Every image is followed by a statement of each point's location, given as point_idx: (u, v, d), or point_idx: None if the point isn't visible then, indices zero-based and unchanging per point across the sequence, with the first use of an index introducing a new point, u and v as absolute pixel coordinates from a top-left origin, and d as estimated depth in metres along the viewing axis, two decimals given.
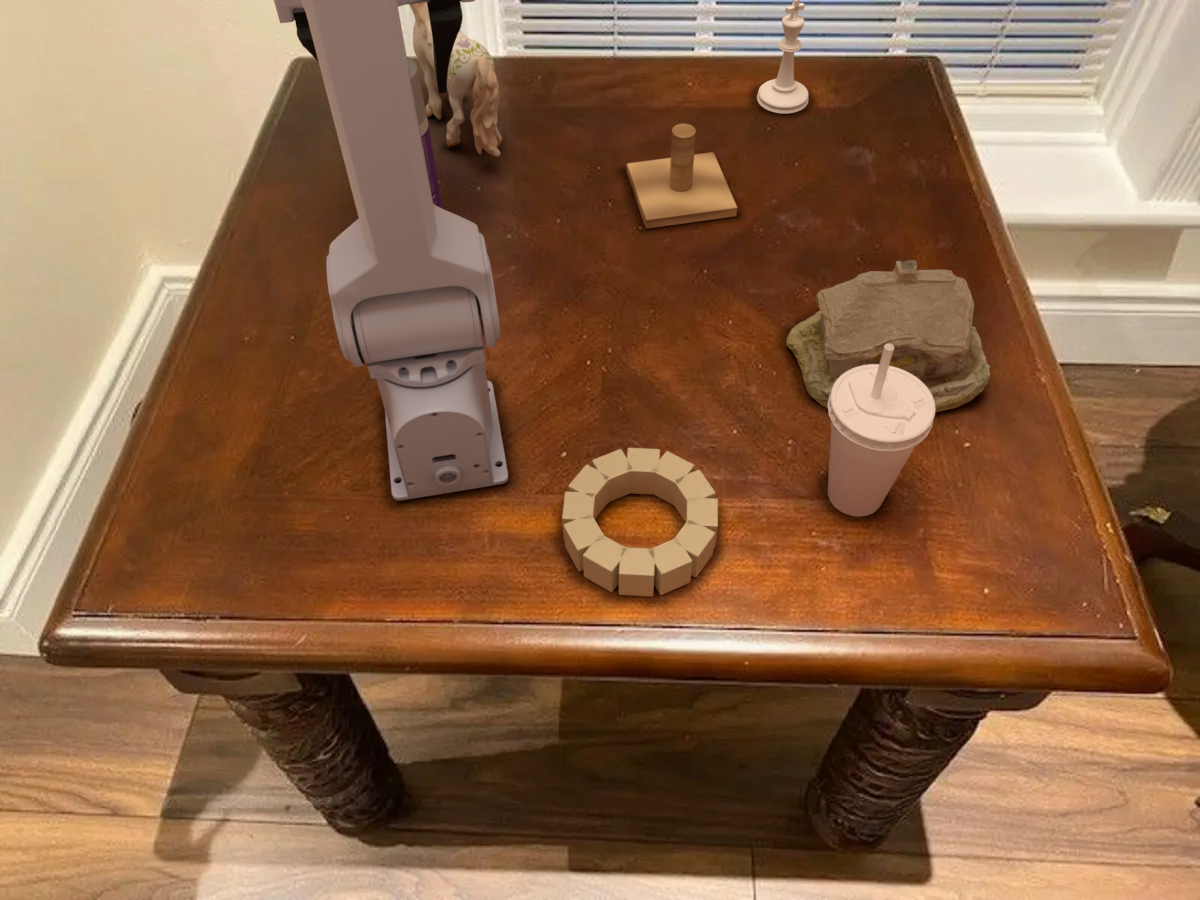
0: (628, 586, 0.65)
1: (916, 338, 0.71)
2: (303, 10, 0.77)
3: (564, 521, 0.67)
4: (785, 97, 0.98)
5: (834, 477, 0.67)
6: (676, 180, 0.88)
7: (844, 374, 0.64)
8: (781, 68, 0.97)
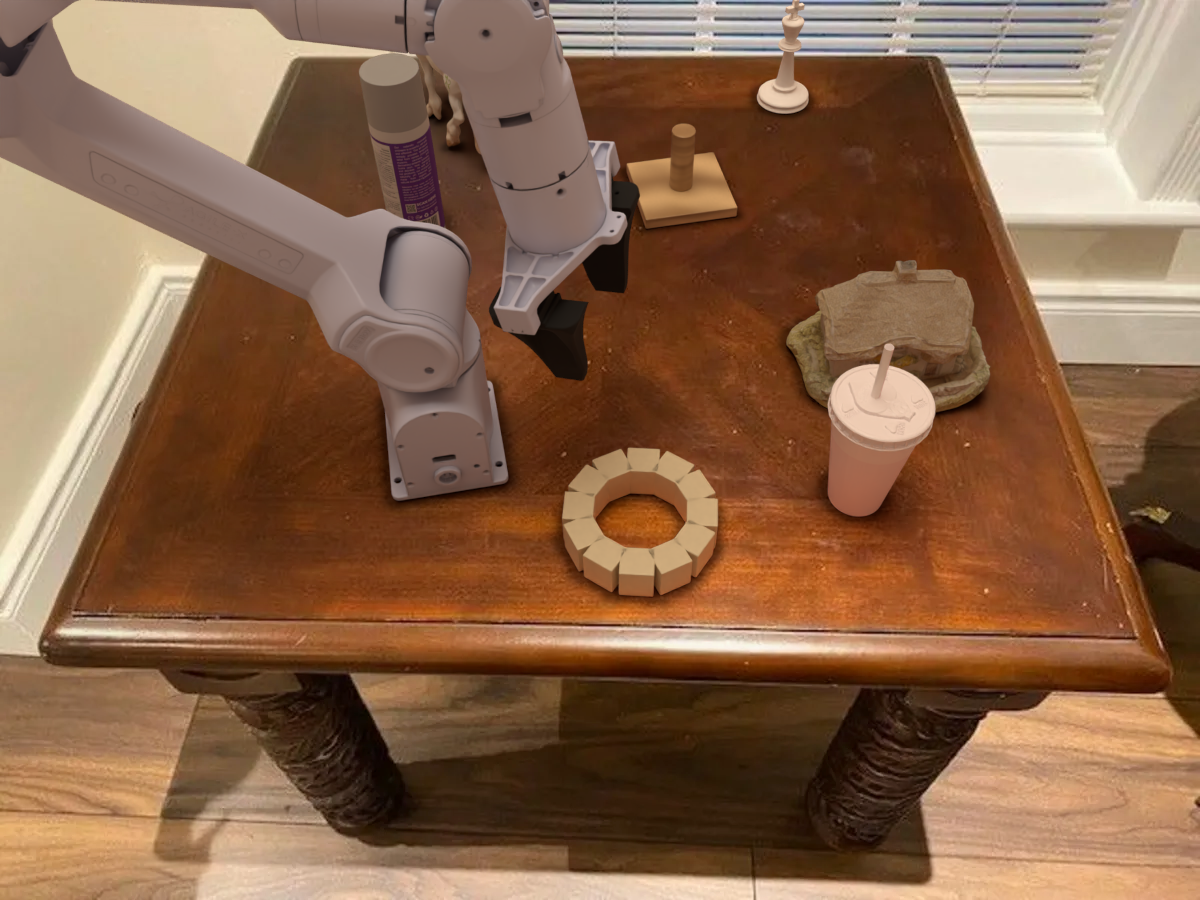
0: (628, 586, 0.65)
1: (916, 338, 0.71)
2: None
3: (564, 521, 0.67)
4: (785, 97, 0.98)
5: (834, 477, 0.67)
6: (676, 180, 0.88)
7: (844, 374, 0.64)
8: (781, 68, 0.97)
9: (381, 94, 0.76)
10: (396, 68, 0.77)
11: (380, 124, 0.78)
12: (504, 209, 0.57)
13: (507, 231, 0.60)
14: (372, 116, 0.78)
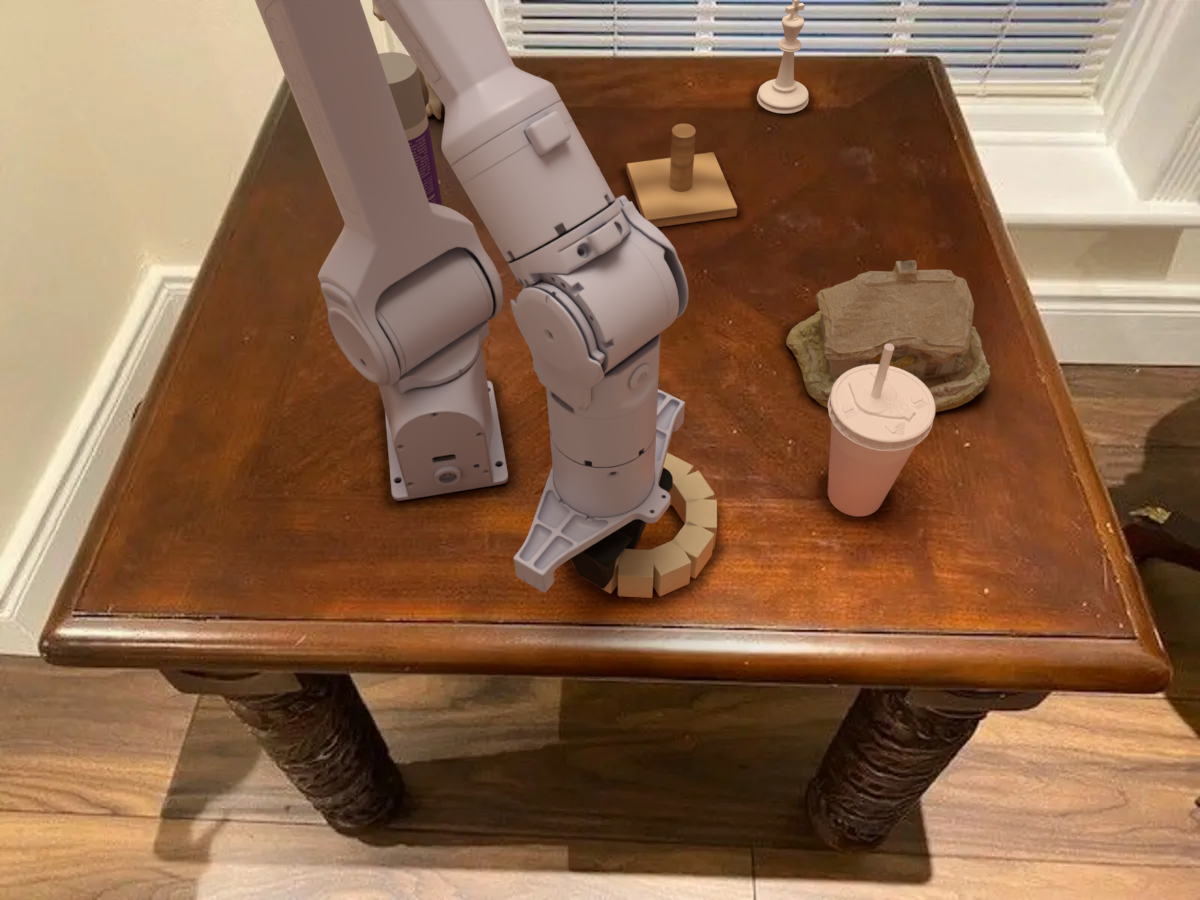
0: (627, 588, 0.65)
1: (916, 338, 0.71)
2: None
3: None
4: (785, 97, 0.98)
5: (834, 477, 0.67)
6: (676, 180, 0.88)
7: (844, 374, 0.64)
8: (781, 68, 0.97)
9: None
10: (394, 67, 0.77)
11: None
12: (554, 461, 0.56)
13: (552, 469, 0.59)
14: None
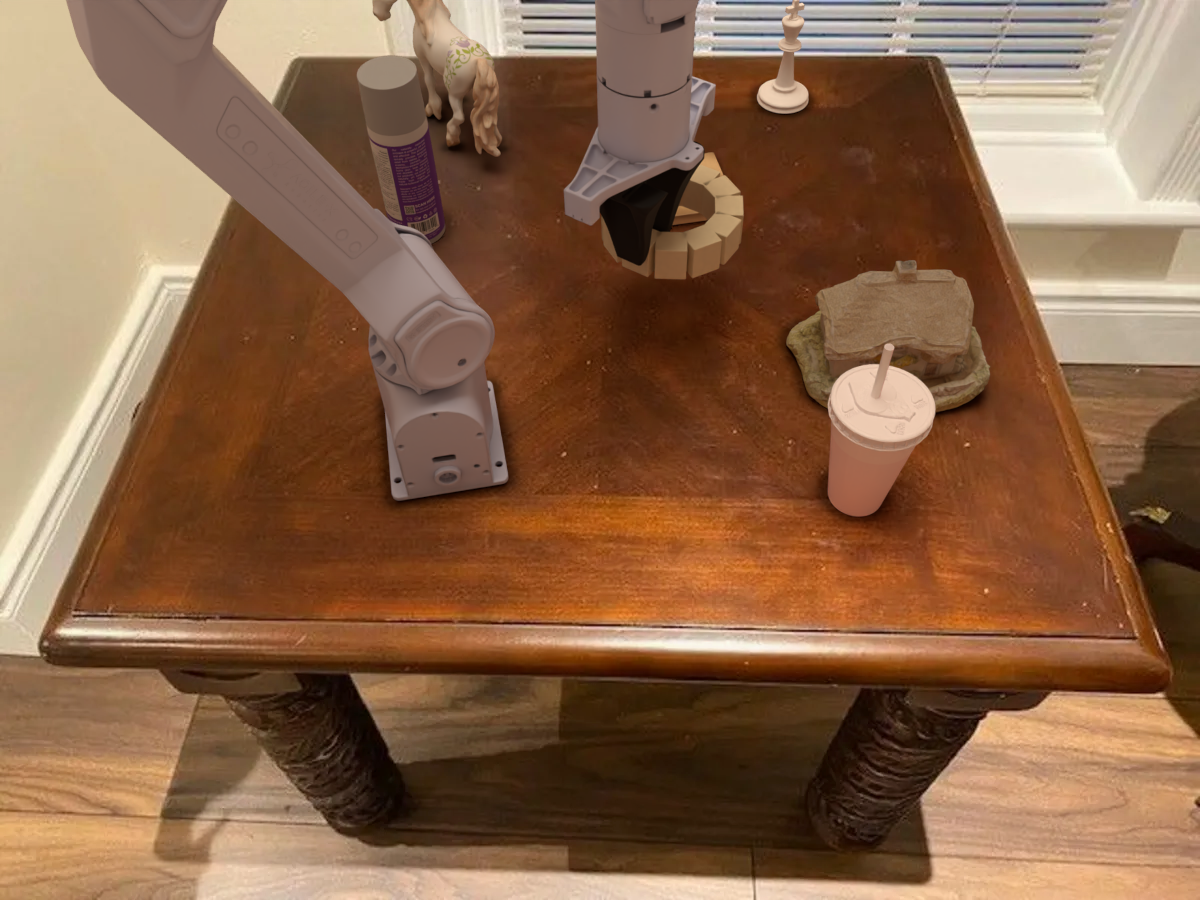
0: (663, 267, 0.71)
1: (916, 338, 0.71)
2: None
3: None
4: (785, 97, 0.98)
5: (834, 477, 0.67)
6: None
7: (844, 374, 0.64)
8: (781, 68, 0.97)
9: (378, 97, 0.76)
10: (393, 71, 0.76)
11: (377, 127, 0.78)
12: (600, 107, 0.62)
13: (596, 130, 0.65)
14: (370, 119, 0.78)
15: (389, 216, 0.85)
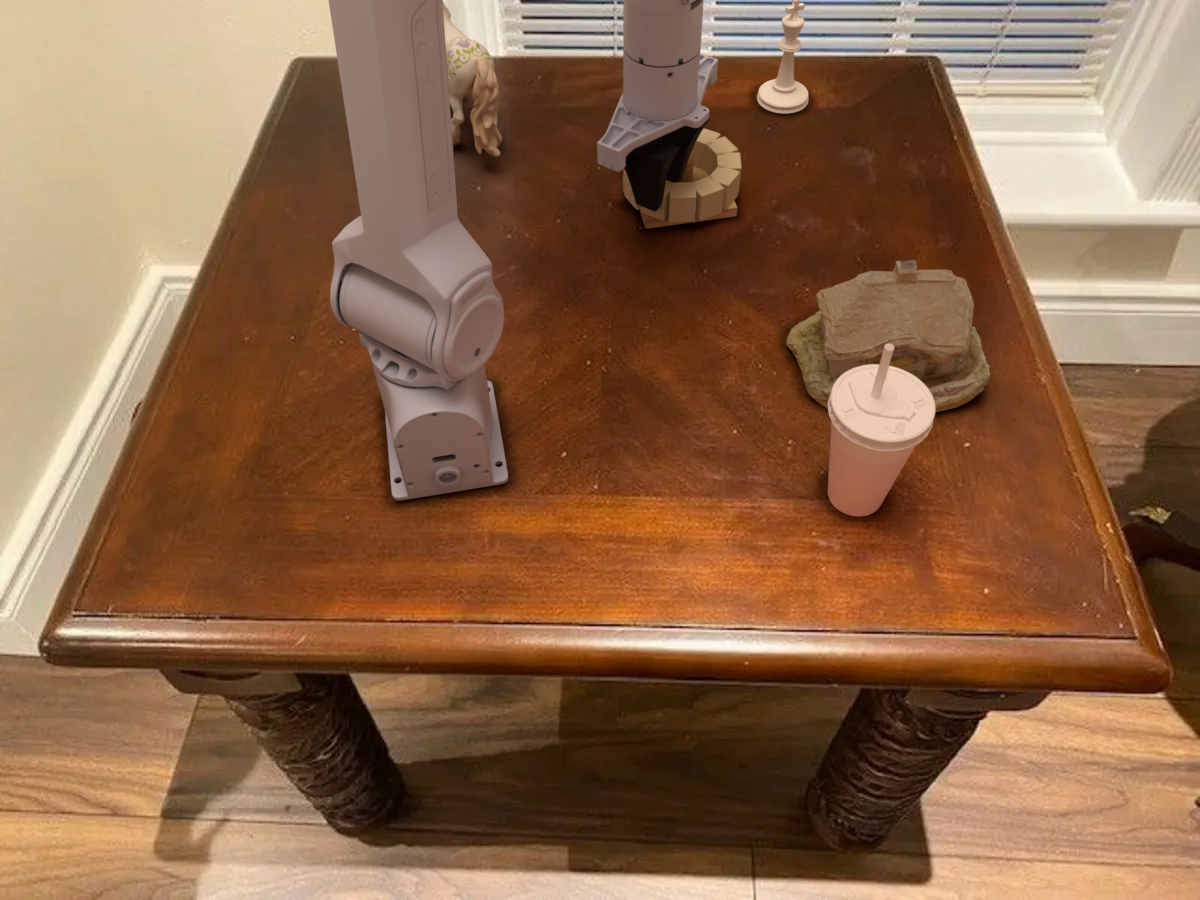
0: (676, 211, 0.86)
1: (916, 338, 0.71)
2: None
3: (624, 170, 0.88)
4: (785, 97, 0.98)
5: (834, 477, 0.67)
6: None
7: (844, 374, 0.64)
8: (781, 68, 0.97)
9: None
10: None
11: None
12: (626, 76, 0.77)
13: (621, 96, 0.80)
14: None
15: None
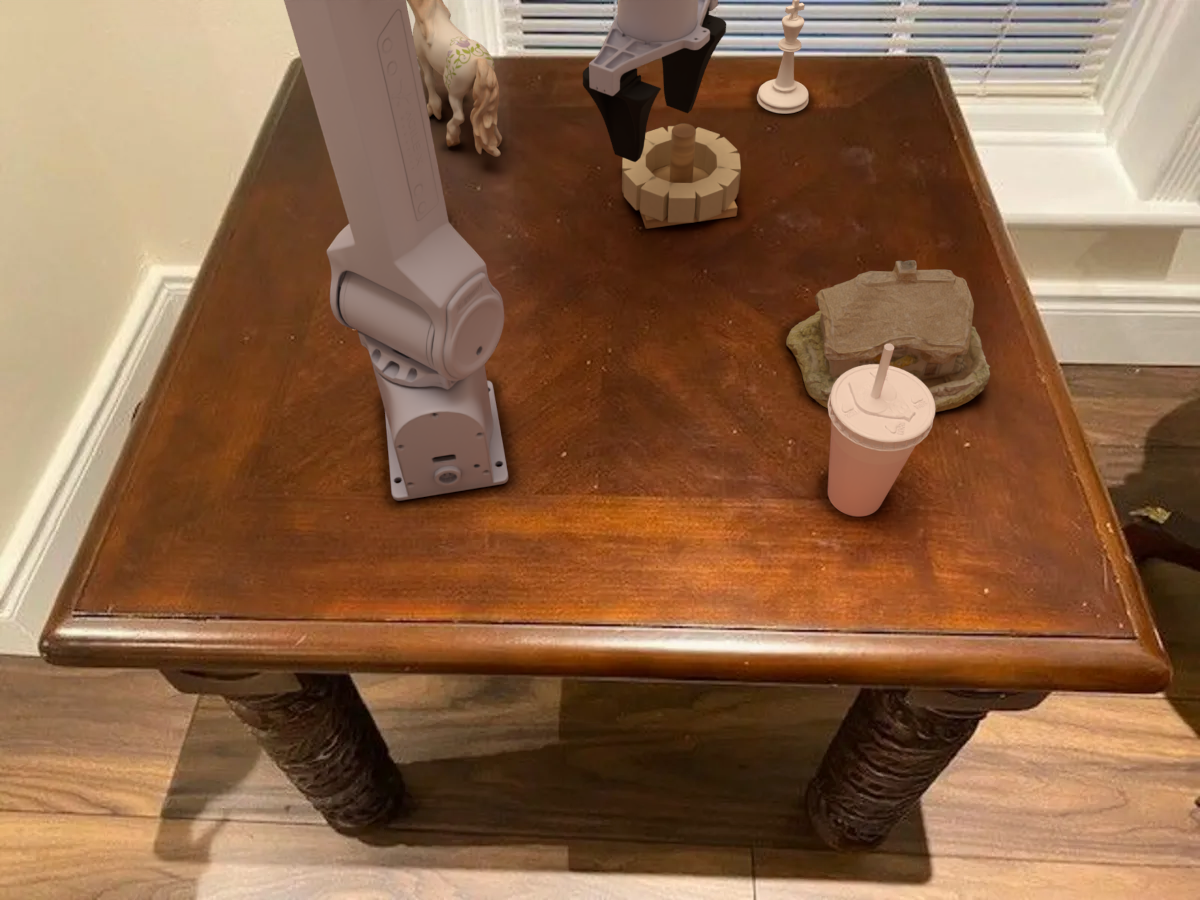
0: (675, 212, 0.86)
1: (916, 338, 0.71)
2: None
3: (623, 171, 0.88)
4: (785, 97, 0.98)
5: (834, 477, 0.67)
6: (676, 180, 0.88)
7: (844, 374, 0.64)
8: (781, 68, 0.97)
9: None
10: None
11: None
12: None
13: (616, 18, 0.74)
14: None
15: None
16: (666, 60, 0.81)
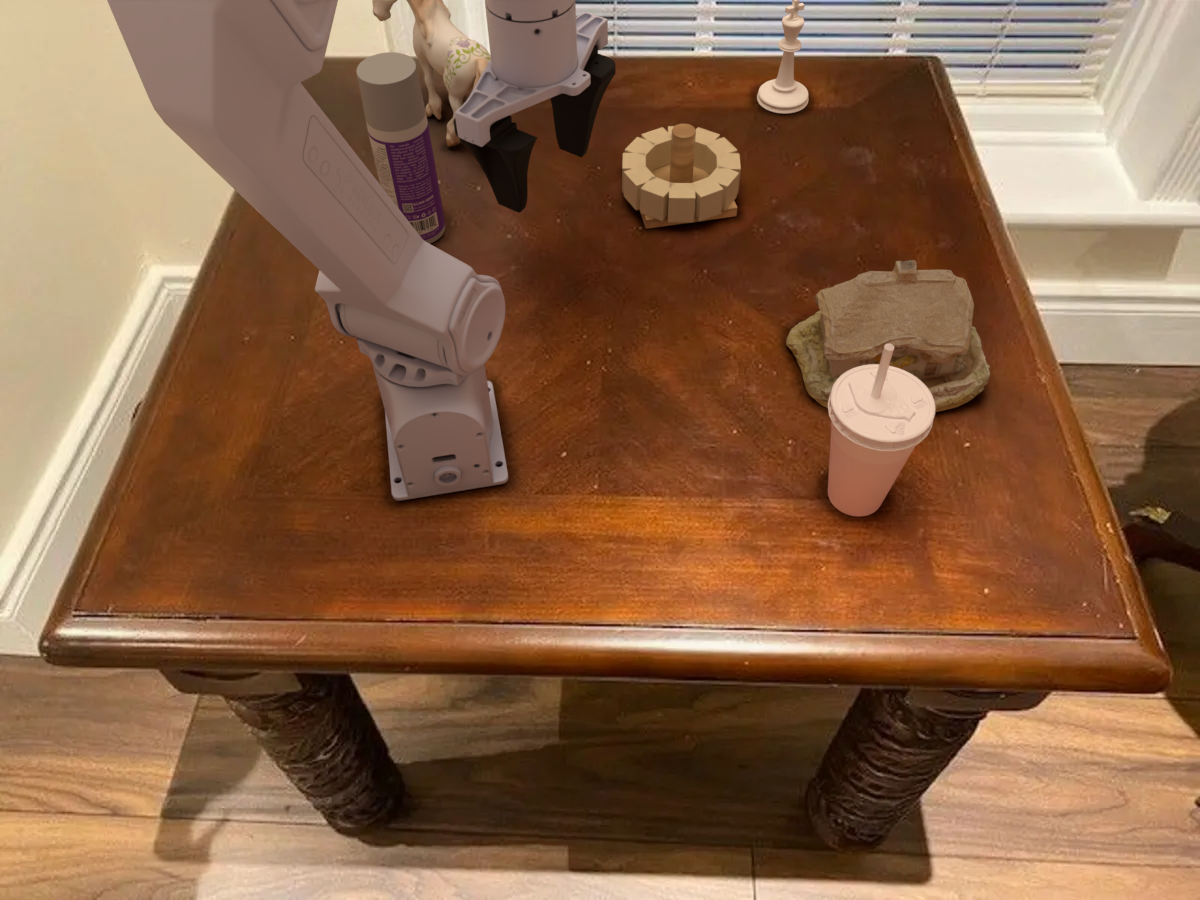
0: (675, 212, 0.86)
1: (916, 338, 0.71)
2: None
3: (623, 171, 0.88)
4: (785, 97, 0.98)
5: (834, 477, 0.67)
6: (676, 180, 0.88)
7: (844, 374, 0.64)
8: (781, 68, 0.97)
9: (376, 92, 0.76)
10: (393, 67, 0.77)
11: (375, 122, 0.78)
12: (489, 35, 0.66)
13: (490, 60, 0.69)
14: (368, 114, 0.78)
15: None
16: (555, 101, 0.75)
